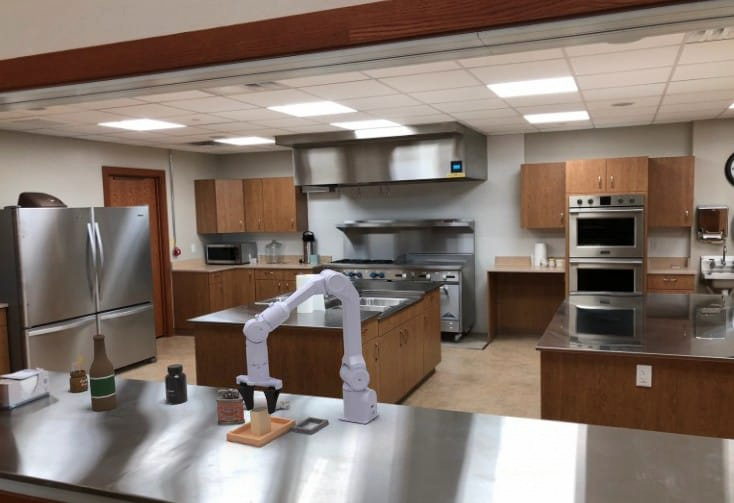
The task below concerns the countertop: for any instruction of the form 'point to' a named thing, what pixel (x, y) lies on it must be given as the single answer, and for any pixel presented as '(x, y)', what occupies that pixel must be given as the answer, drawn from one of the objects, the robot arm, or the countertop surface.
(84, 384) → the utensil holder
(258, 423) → the tan rectangular block
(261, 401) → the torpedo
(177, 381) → the supplement bottle
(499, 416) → the countertop surface
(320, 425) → the socket
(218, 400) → the lighter
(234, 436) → the parts tray
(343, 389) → the robot arm
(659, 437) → the countertop surface
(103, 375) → the beer bottle
